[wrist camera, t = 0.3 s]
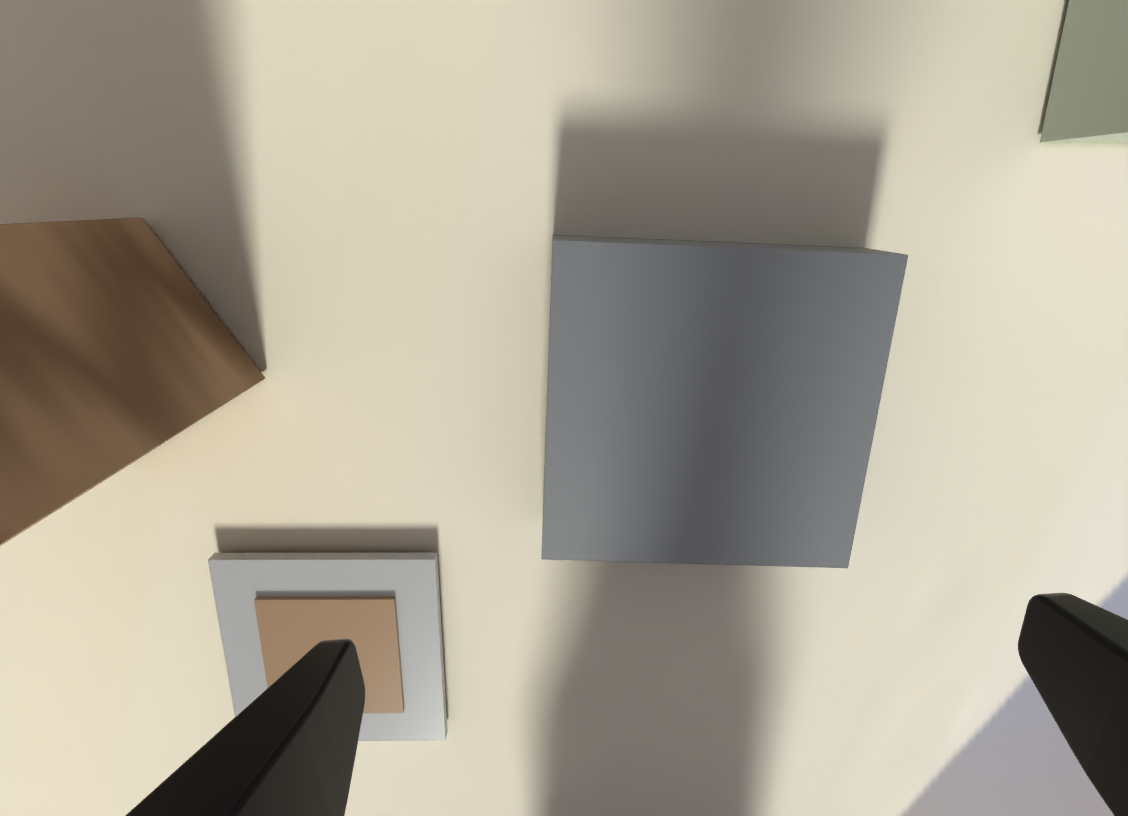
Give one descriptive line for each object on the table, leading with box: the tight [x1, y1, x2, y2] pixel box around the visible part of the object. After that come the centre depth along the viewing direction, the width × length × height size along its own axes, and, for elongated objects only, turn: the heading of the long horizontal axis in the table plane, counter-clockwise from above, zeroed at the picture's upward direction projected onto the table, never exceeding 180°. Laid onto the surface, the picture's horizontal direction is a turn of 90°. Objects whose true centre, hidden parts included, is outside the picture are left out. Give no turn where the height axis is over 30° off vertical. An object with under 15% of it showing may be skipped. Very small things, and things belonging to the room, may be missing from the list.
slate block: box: [542, 235, 908, 568], centre depth 22 cm, size 10×10×3 cm
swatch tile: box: [208, 552, 447, 741], centre depth 25 cm, size 8×8×1 cm
